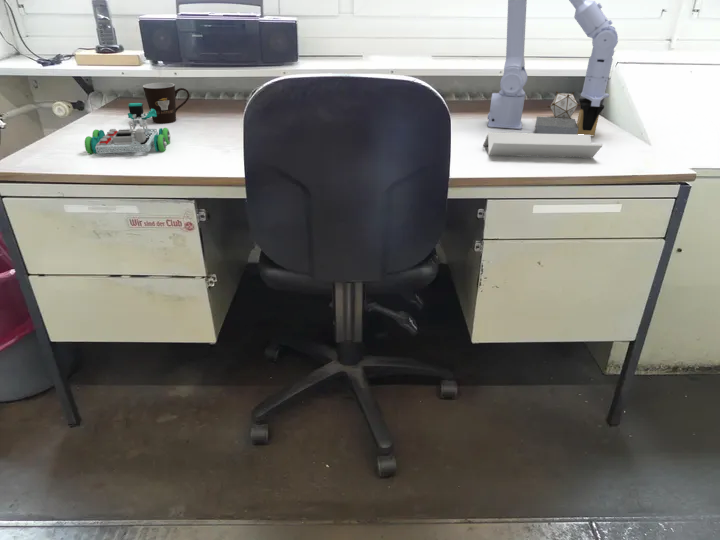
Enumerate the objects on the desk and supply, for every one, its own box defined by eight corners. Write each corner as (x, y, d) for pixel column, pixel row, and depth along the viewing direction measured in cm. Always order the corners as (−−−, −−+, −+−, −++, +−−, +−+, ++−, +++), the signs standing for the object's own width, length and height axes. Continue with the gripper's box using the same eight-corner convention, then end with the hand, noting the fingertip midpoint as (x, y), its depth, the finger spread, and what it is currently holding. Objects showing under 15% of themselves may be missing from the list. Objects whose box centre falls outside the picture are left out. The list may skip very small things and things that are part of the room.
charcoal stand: (535, 140, 142) (538, 125, 140) (534, 130, 150) (536, 116, 148) (575, 143, 140) (578, 128, 138) (571, 133, 148) (574, 119, 146)
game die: (561, 129, 166) (581, 102, 165) (569, 126, 158) (591, 97, 156) (538, 113, 166) (558, 85, 164) (545, 109, 158) (566, 80, 156)
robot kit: (179, 130, 148) (174, 96, 144) (164, 158, 127) (157, 118, 122) (109, 132, 146) (102, 97, 141) (81, 160, 124) (71, 120, 120)
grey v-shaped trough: (483, 166, 136) (483, 144, 138) (582, 169, 135) (580, 147, 137) (494, 143, 124) (493, 119, 126) (602, 145, 124) (600, 121, 125)
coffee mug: (145, 124, 152) (138, 88, 147) (154, 117, 159) (148, 82, 154) (186, 124, 152) (180, 88, 147) (193, 117, 160) (188, 82, 155)
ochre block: (576, 135, 147) (581, 113, 144) (575, 130, 151) (579, 109, 148) (594, 136, 146) (599, 114, 143) (592, 132, 150) (596, 110, 147)
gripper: (617, 81, 134) (605, 135, 141) (608, 72, 146) (597, 122, 153) (588, 80, 136) (576, 133, 142) (581, 71, 148) (571, 120, 154)
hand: (585, 127), depth 148 cm, fingers closed on ochre block, 4 cm apart
